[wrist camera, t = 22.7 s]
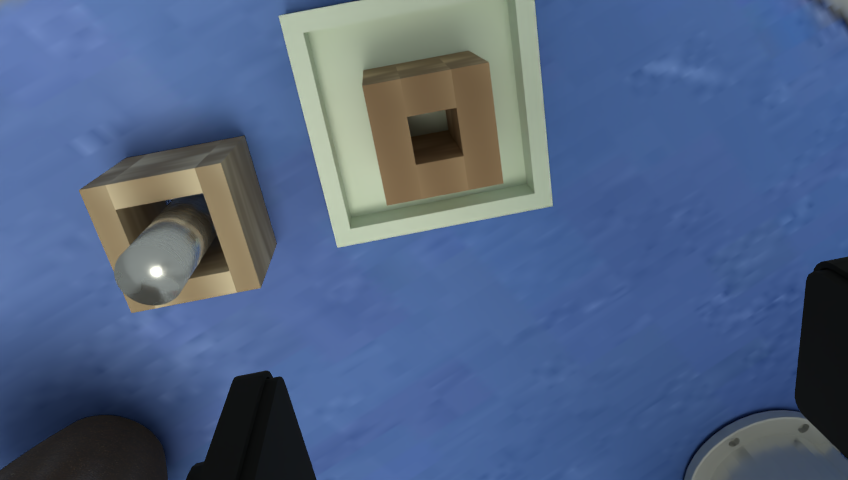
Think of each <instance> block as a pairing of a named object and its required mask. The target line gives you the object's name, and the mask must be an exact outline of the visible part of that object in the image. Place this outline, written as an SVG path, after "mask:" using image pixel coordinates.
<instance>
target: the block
mask: <svg viewBox="0 0 848 480" xmlns="http://www.w3.org/2000/svg"><path fill="white" fill-rule="evenodd" d="M362 88H363V92H364V97H365V102H366V107H367V112H368V117H369V121H370V126H371V131H372V136H373V141H374V146H375V150H376V155H377V160H378V165H379V170H380V175H381V179H382V184H383V189H384V194H385V199H386V204H387V206H388V205H393V204H399V203H404V202H409V201H414V200H420V199H425V198H430V197H435V196H441V195H446V194H451V193H456V192H462V191H467V190H472V189H478V188H483V187H488V186H493V185H499V184H504V183H503V175H502V167H501V158H500V150H499V142H498V133H497V125H496V117H495V108H494V100H493V92H492V83H491V75H490V67H489V62H488V61H486V60H484V59H482V58H481V57H479V56H477V55H476V54H474V53H472V52H470V51H464V52H458V53H453V54H447V55H442V56H437V57H431V58H426V59H421V60H415V61H410V62H405V63H399V64H394V65H388V66H383V67H378V68H372V69H367V70H363V80H362ZM442 110H445V111H446V118H447V124H448V130H445V131H440V132H435V133H429V134H424V135H419V136H413V137H411V135H410V130H409V124H408V119H407V117H410V116H415V115H421V114H426V113H431V112H437V111H442Z"/></svg>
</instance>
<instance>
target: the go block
mask: <svg viewBox="0 0 848 480" xmlns="http://www.w3.org/2000/svg"><path fill="white" fill-rule="evenodd" d="M79 192H80V194H81V196H82V199H83V201H84V203H85V206H86V208H87V210H88V213H89V215H90V217H91V220H92V222H93V224H94V227H95V229H96V231H97V234H98V236H99V238H100V241H101V243H102V245H103V248H104V250H105V252H106V255H107V257H108V259H109V261H110V264H111V266H112V268H113V271H114V268H115V264H116V261H117V259H118V258H119V256H120V255H121V254H122V253H123V252H124V251H125V250H126V249H127V248H128V247H129V246H130V245H131V244H132V243H133V242H134V240H135V239H136V238H137V237H138V236H139V235H140V234H141V233H142V232H143V231H144V230H145V229H146V228H147V227H148V226H149V225H150V224H151V222H152V221H153V220H154V219H155V218H156V217H157V216H158V215H159V214H160V213H161V212H162V211H163V210H164V209H165V208H166V207H167V205H166V202H165V200H169V199H174V198H180V197H185V196H190V195H195V194H201V193H203V195H204V197H205V200H206V203H207V206H208V209H209V212H210V215H211V218H212V221H213V224H214V227H215V230H216V233H217V236H216V237H215V238H214V240H213V241H212V243H211V245H210V246H209V248H208V249H207V251H206V253H205V254H204V256H203V257H202V259H201V261H200V262H199V264H198V265H197V267H196V269H195V270H194V272H193V273H192V275H191V277H190V278H189V280H188V281H187V283H186V285H185V286H184V288H183V289H182V291H181V292H180V294H179V295H178V296H177V297H176V298H175V299H174V300H172V301H171V302H169V303H166V304H163V305H155V306H152V305H145V304H141V303H138V302H136V301H134V300H132V299H130V298H129V297H128V296H126V295H125V294H124V293H123V294H124V296H125V299H126V301H127V303H128V306H129V308H130V310H131V313H134V312H139V311H144V310H149V309H155V308H160V307H165V306H170V305H175V304H180V303H186V302H191V301H196V300H201V299H206V298H211V297H217V296H222V295H227V294H232V293H237V292H242V291H247V290H253V289H258V288H261V286H262V283H263V281H264V278H265V275H266V272H267V270H268V267H269V264H270V261H271V259H272V256H273V253H274V250H275V247H276V245H277V243H276V239H275V236H274V233H273V229H272V226H271V223H270V219H269V216H268V213H267V209H266V206H265V203H264V199H263V196H262V193H261V189H260V186H259V182H258V179H257V176H256V172H255V169H254V166H253V162H252V159H251V156H250V152H249V149H248V146H247V142H246V139H245V136H240V137H235V138H229V139H224V140H219V141H214V142H208V143H203V144H198V145H193V146H187V147H182V148H177V149H172V150H166V151H161V152H156V153H151V154H145V155H140V156H135V157H130V158H125V159H124V160H122V161H121V162H119V163H118V164H116V165H115V166H114V167H112V168H111V169H109V170H108V171H106V172H105V173H103V174H102V175H100V176H99V177H97V178H96V179H95V180H93V181H92V182H90V183H89V184H87V185H86V186H84V187H83V188H81V189H80V190H79Z"/></svg>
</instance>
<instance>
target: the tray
mask: <svg viewBox="0 0 848 480" xmlns="http://www.w3.org/2000/svg"><path fill="white" fill-rule="evenodd" d="M279 19H280V23H281V27H282V31H283V35H284V39H285V43H286V47H287V51H288V55H289V59H290V63H291V66H292V70H293V74H294V78H295V82H296V86H297V90H298V94H299V98H300V102H301V106H302V110H303V114H304V118H305V122H306V126H307V130H308V133H309V137H310V141H311V145H312V149H313V153H314V157H315V161H316V165H317V169H318V173H319V177H320V181H321V185H322V189H323V193H324V197H325V201H326V204H327V208H328V212H329V216H330V220H331V224H332V228H333V232H334V236H335V240H336V244H337V248H338V247H344V246H349V245H354V244H359V243H364V242H369V241H375V240H380V239H385V238H390V237H395V236H400V235H406V234H411V233H416V232H421V231H426V230H431V229H437V228H442V227H447V226H452V225H457V224H463V223H468V222H473V221H478V220H483V219H488V218H494V217H499V216H504V215H509V214H514V213H519V212H525V211H530V210H535V209H540V208H545V207H550V206H553V202H552V191H551V180H550V169H549V157H548V146H547V135H546V124H545V112H544V101H543V90H542V79H541V67H540V56H539V45H538V34H537V22H536V11H535V0H358V1H353V2H347V3H342V4H337V5H331V6H326V7H321V8H315V9H310V10H305V11H299V12H294V13H289V14H284V15H280V16H279ZM464 51H470V52H472V53H474V54H476V55H477V56H479V57H481V58H482V59H484V60H486V61H488V62H489V67H490V75H491V83H492V92H493V100H494V108H495V117H496V125H497V133H498V142H499V150H500V158H501V167H502V175H503V183H504V184H499V185H493V186H488V187H483V188H478V189H472V190H467V191H462V192H456V193H451V194H446V195H441V196H435V197H430V198H425V199H420V200H414V201H409V202H404V203H399V204H393V205H388V206H387V204H386V199H385V194H384V189H383V184H382V179H381V175H380V170H379V165H378V160H377V155H376V150H375V146H374V141H373V136H372V131H371V126H370V121H369V117H368V112H367V107H366V102H365V97H364V92H363V88H362V80H363V70H367V69H372V68H378V67H383V66H388V65H394V64H399V63H405V62H410V61H415V60H421V59H426V58H431V57H437V56H442V55H447V54H453V53H458V52H464ZM407 119H408V124H409V130H410V135H411V137H413V136H419V135H424V134H429V133H435V132H440V131H445V130H448V124H447V118H446V111H445V110H442V111H437V112H431V113H426V114H421V115H415V116H410V117H407Z"/></svg>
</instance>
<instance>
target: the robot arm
mask: <svg viewBox="0 0 848 480" xmlns="http://www.w3.org/2000/svg"><path fill="white" fill-rule="evenodd" d="M795 400H796V404H797V406H798V408H799V410H800V412H796V411H788V410H776V411H767V412H762V413H757V414H753V415H750V416H747V417H744V418H741V419H739V420H737V421H735V422H733V423H731V424H729V425H727V426H726V427H724V428H723V429H721V430H720V431H718V432H717V433H716V434H714V435H713V436H712V437H711V438H710V439H709V440H708V441H706V442H705V443H704V444H703V445H702V447H701V448H700V449H699V450H698V452H697V453H696V454H695V455H694V457H693V459H692V461H691V462H690V464H689V466H688V468H687V471H686V475H685V478H684V480H848V257H844V258H839V259H834V260H829V261H824V262H820V263H819V264H817V265H816V267H815V268H814V271H813V272H812V273H810V274H809V275H808V277H807V280H806V288H805V298H804V308H803V318H802V327H801V337H800V347H799V357H798V367H797V377H796V387H795ZM841 453H842V454H843V455H844V456H845V457H846V458H847V459H845V458H844V457H843V456H842V455H841ZM186 480H316V477H315V474H314V471H313V467H312V464H311V461H310V458H309V455H308V452H307V449H306V446H305V443H304V440H303V437H302V434H301V431H300V428H299V425H298V422H297V418H296V415H295V412H294V409H293V406H292V403H291V400H290V397H289V394H288V391H287V388H286V385H285V382H284V380H283V378H282V377H275V378H273V377H272V375H271V373H270V372H269V371H262V372H257V373H252V374H247V375H241V376H237V377H235V378H234V379H233V381H232V384H231V387H230V390H229V393H228V396H227V399H226V401H225V404H224V407H223V410H222V413H221V416H220V419H219V422H218V424H217V427H216V430H215V433H214V436H213V439H212V442H211V444H210V447H209V450H208V453H207V456H206V459H205V462H200V463H196V464H195V465H194V466H193V467H192V468H191V470H190V472H189V474H188V476H187V478H186Z"/></svg>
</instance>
